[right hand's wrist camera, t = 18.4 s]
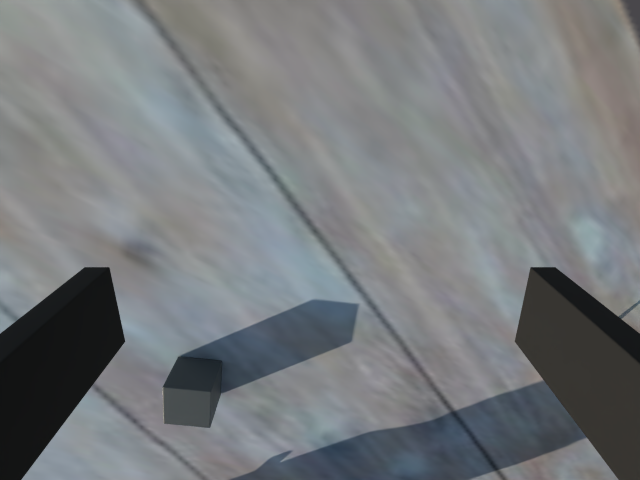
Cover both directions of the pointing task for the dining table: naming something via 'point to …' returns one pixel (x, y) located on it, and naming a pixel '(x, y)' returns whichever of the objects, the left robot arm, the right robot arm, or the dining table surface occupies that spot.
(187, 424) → the slate block
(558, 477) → the dining table surface
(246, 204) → the dining table surface
